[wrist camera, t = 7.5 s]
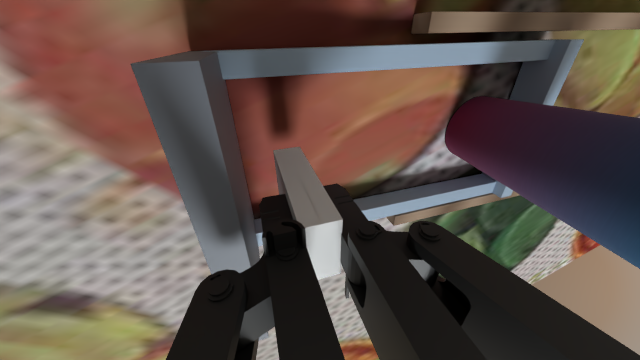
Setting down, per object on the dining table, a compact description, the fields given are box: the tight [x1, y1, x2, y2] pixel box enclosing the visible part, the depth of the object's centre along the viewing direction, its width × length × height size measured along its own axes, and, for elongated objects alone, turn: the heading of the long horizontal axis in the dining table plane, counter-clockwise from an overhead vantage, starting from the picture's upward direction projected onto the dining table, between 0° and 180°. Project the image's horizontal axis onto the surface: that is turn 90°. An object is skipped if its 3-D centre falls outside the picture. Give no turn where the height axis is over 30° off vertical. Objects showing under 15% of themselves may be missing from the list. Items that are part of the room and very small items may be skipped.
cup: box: [445, 96, 640, 269], centre depth 14 cm, size 7×7×15 cm
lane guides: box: [387, 12, 640, 225], centre depth 17 cm, size 23×30×2 cm
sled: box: [131, 39, 584, 340], centre depth 15 cm, size 24×12×8 cm, turn 91°
